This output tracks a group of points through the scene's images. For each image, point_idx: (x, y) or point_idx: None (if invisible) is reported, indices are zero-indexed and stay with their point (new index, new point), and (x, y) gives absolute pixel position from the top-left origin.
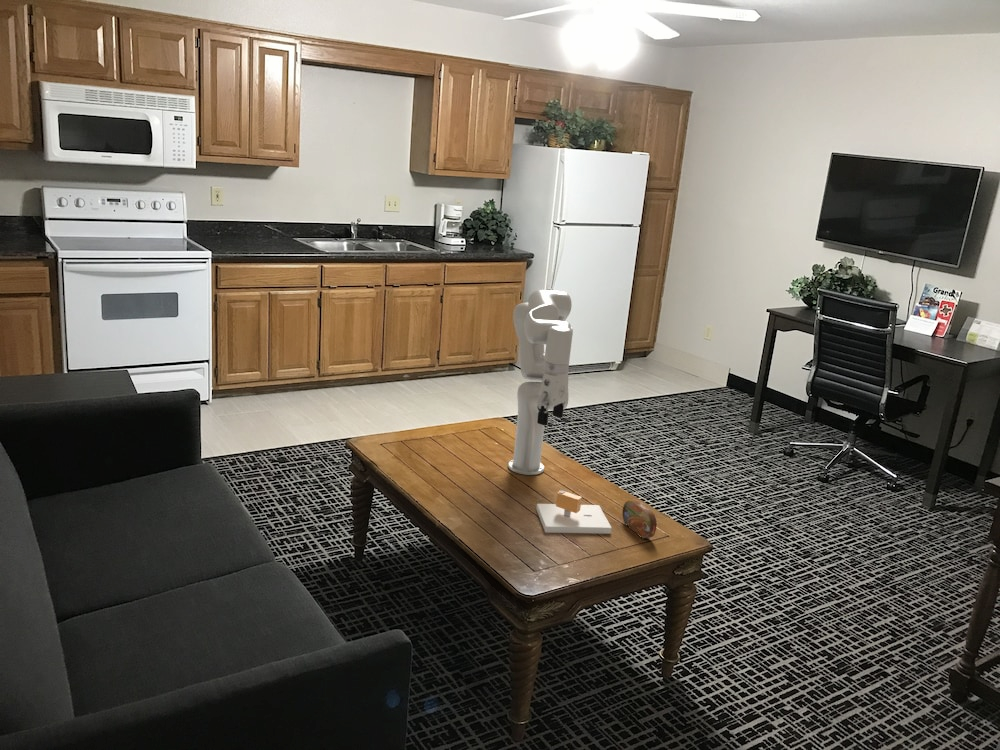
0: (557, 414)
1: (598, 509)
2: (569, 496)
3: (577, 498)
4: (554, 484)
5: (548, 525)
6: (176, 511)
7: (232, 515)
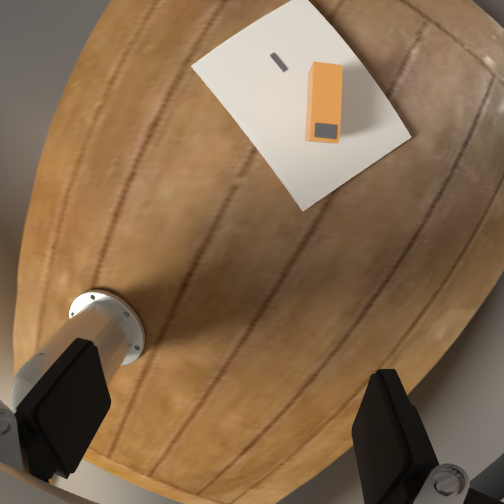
0: (94, 385)
1: (219, 55)
2: (339, 97)
3: (334, 69)
4: (128, 236)
5: (403, 133)
6: (486, 486)
7: (488, 469)
